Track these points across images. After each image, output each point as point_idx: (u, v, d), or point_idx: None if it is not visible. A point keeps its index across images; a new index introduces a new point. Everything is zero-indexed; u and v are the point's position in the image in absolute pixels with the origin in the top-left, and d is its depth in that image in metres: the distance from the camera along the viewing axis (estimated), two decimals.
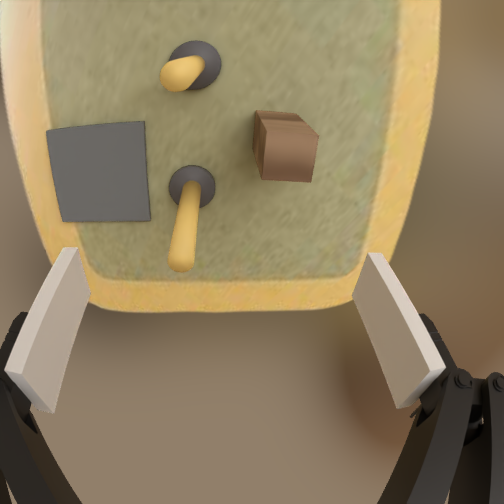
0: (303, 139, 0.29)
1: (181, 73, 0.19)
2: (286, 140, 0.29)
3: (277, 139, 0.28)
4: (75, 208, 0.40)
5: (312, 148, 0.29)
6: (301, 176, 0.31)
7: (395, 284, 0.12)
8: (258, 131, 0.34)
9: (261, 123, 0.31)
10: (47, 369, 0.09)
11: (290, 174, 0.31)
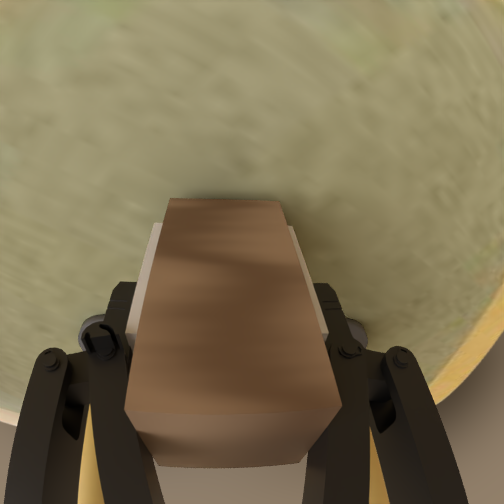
0: (157, 434, 0.07)
1: None
2: (174, 452, 0.08)
3: (176, 459, 0.08)
4: None
5: (185, 421, 0.06)
6: (307, 426, 0.07)
7: None
8: None
9: None
10: None
11: (293, 441, 0.08)
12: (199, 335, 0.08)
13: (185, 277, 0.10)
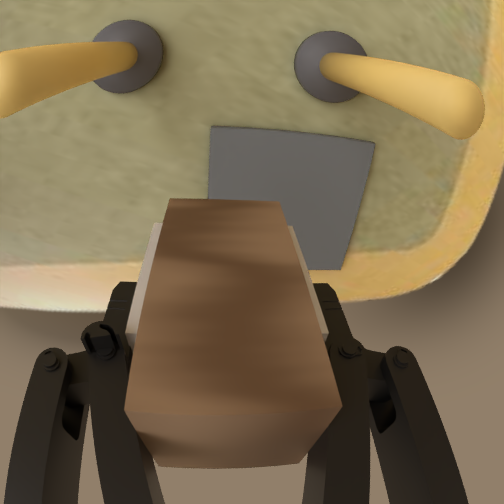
0: (157, 434, 0.07)
1: None
2: (174, 452, 0.08)
3: (176, 460, 0.08)
4: (326, 248, 0.32)
5: (185, 422, 0.06)
6: (308, 426, 0.07)
7: None
8: None
9: None
10: None
11: (293, 441, 0.08)
12: (199, 335, 0.08)
13: (185, 277, 0.10)
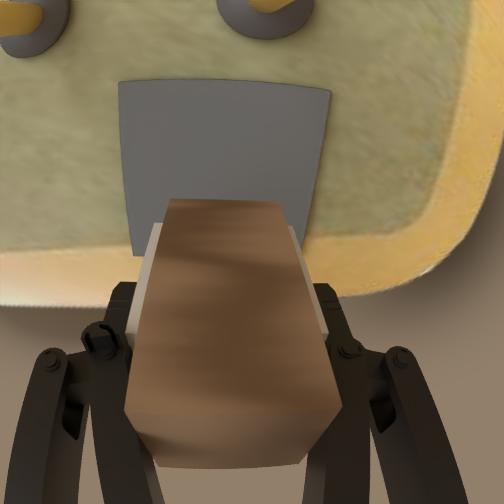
0: (157, 435, 0.07)
1: None
2: (174, 453, 0.08)
3: (176, 460, 0.08)
4: None
5: (185, 422, 0.06)
6: (308, 427, 0.07)
7: None
8: None
9: None
10: None
11: (293, 442, 0.08)
12: (199, 336, 0.08)
13: (185, 277, 0.10)
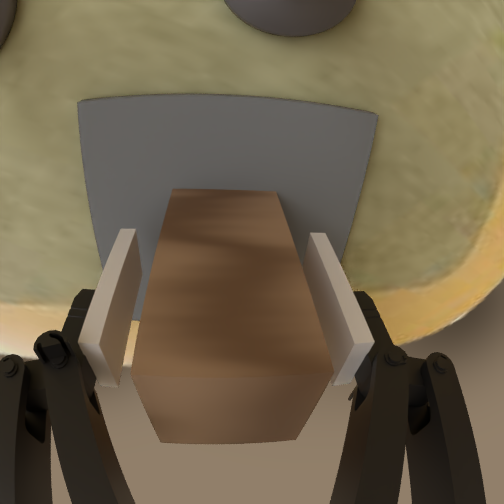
0: (160, 402, 0.08)
1: None
2: (176, 424, 0.09)
3: (178, 433, 0.09)
4: None
5: (187, 386, 0.07)
6: (302, 394, 0.08)
7: (332, 261, 0.13)
8: None
9: None
10: (115, 342, 0.10)
11: (289, 411, 0.09)
12: (201, 308, 0.09)
13: (187, 257, 0.11)
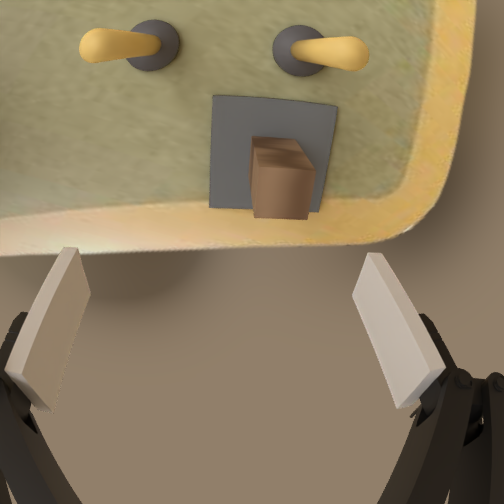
0: (263, 182, 0.27)
1: (93, 41, 0.15)
2: (265, 199, 0.28)
3: (263, 207, 0.29)
4: None
5: (274, 172, 0.27)
6: (307, 181, 0.28)
7: (395, 284, 0.12)
8: None
9: None
10: (47, 369, 0.09)
11: (304, 193, 0.28)
12: (275, 159, 0.28)
13: (266, 150, 0.30)
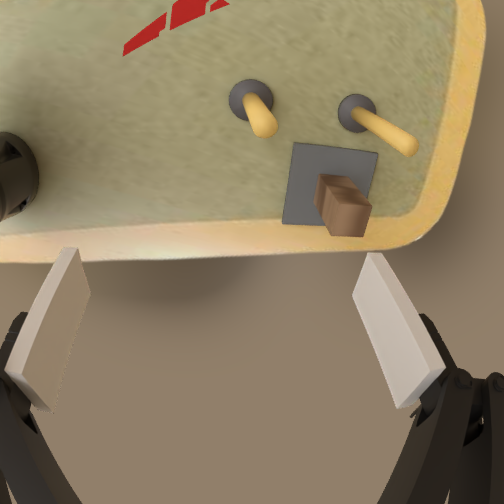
0: (340, 213, 0.41)
1: (263, 123, 0.28)
2: (339, 224, 0.42)
3: (337, 229, 0.43)
4: None
5: (347, 207, 0.41)
6: (366, 213, 0.41)
7: (395, 284, 0.12)
8: None
9: None
10: (47, 369, 0.09)
11: (363, 220, 0.42)
12: (345, 196, 0.42)
13: (336, 188, 0.44)
